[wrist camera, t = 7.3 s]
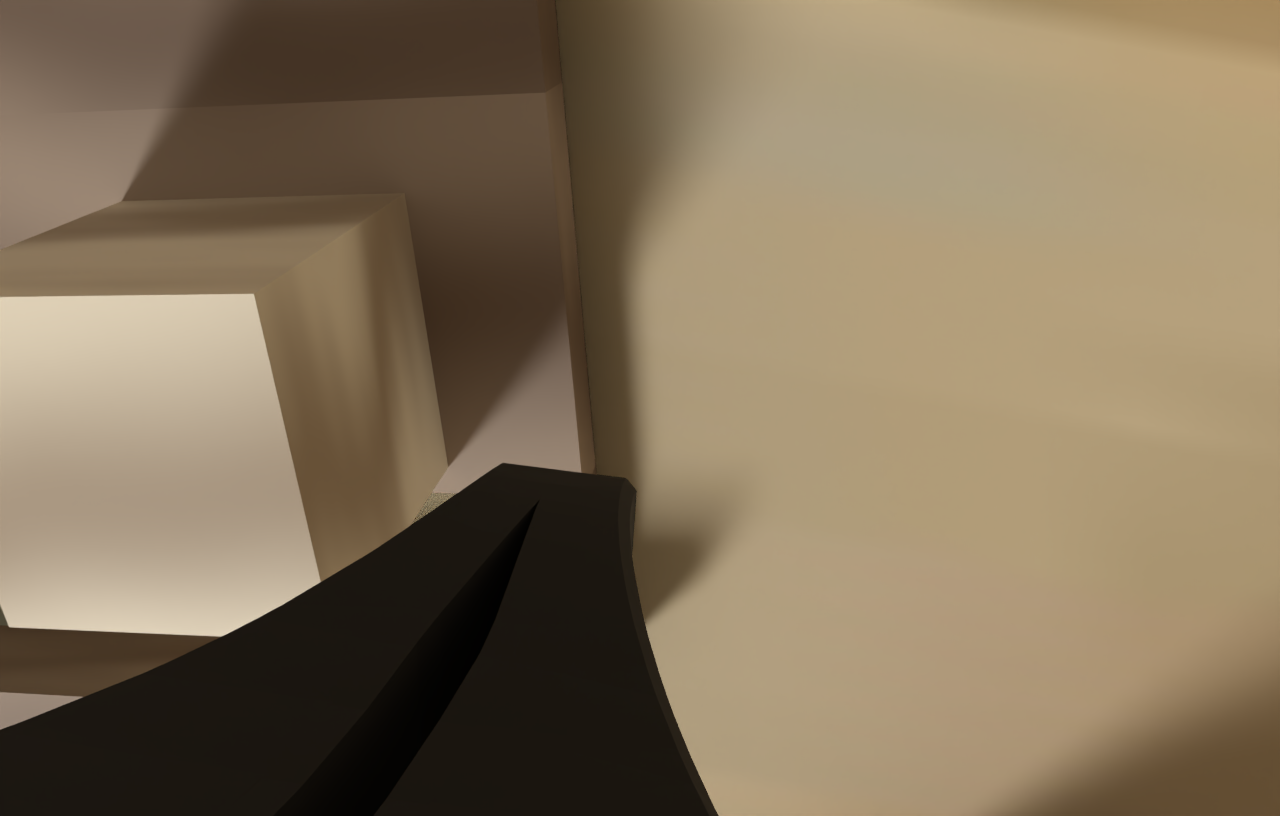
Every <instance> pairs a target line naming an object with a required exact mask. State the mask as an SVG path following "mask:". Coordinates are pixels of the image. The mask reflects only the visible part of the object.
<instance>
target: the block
mask: <svg viewBox="0 0 1280 816" xmlns="http://www.w3.org/2000/svg"><path fill="white" fill-rule="evenodd" d="M447 468H448V463H447V456H446V450H445V444H444V437H443V431H442V425H441V419H440V412H439V406H438V400H437V394H436V387H435V381H434V375H433V368H432V362H431V356H430V350H429V343H428V337H427V331H426V324H425V318H424V312H423V306H422V299H421V293H420V287H419V280H418V274H417V268H416V262H415V255H414V249H413V243H412V236H411V230H410V224H409V218H408V211H407V205H406V199H405V193H391V194H356V195H321V196H285V197H250V198H215V199H180V200H145V201H121V202H118V203H116V204H113V205H111V206H108V207H106V208H103V209H101V210H98V211H96V212H93V213H91V214H88V215H86V216H83V217H81V218H78V219H76V220H73V221H71V222H68V223H66V224H63V225H61V226H58V227H56V228H53V229H51V230H48V231H46V232H43V233H41V234H38V235H36V236H33V237H31V238H28V239H26V240H23V241H21V242H18V243H16V244H13V245H11V246H8V247H6V248H3V249H1V250H0V606H1V608H2V611H3V613H4V616H5V618H6V621H7V623H8V626H9V627H15V628H37V629H60V630H83V631H106V632H129V633H152V634H174V635H197V636H220V637H222V636H224V635H226V634H228V633H230V632H232V631H234V630H236V629H238V628H240V627H242V626H244V625H245V624H247V623H249V622H251V621H253V620H255V619H257V618H259V617H261V616H263V615H265V614H266V613H268V612H270V611H272V610H274V609H276V608H277V607H279V606H281V605H283V604H285V603H286V602H288V601H290V600H291V599H293V598H295V597H296V596H298V595H300V594H301V593H303V592H305V591H306V590H308V589H310V588H311V587H313V586H315V585H317V584H318V583H320V582H322V581H323V580H325V579H327V578H328V577H330V576H332V575H333V574H335V573H337V572H338V571H340V570H342V569H343V568H345V567H347V566H348V565H350V564H352V563H353V562H355V561H357V560H358V559H360V558H362V557H363V556H365V555H367V554H368V553H370V552H372V551H373V550H375V549H376V548H378V547H379V546H381V545H382V544H384V543H385V542H387V541H388V540H390V539H391V538H393V537H394V536H396V535H397V534H399V533H400V532H402V531H403V530H405V529H406V528H408V527H409V526H410V525H411V524H412V522H413V521H414V519H415V518H416V516H417V514H418V513H419V511H420V510H421V508H422V507H423V505H424V504H425V502H426V501H427V499H428V498H429V496H430V495H431V493H432V491H433V490H434V488H435V487H436V485H437V484H438V482H439V481H440V479H441V478H442V476H443V475H444V473H445V472H446V470H447Z"/></svg>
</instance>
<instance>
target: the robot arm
mask: <svg viewBox="0 0 1280 816" xmlns="http://www.w3.org/2000/svg"><path fill="white" fill-rule="evenodd" d="M636 493H637V491H636V489H635V488H634V487H633V486H632V485H631V484H630V482H629V481H628V480H627V479H626V478H619V477H611V476H604V475H596V474H588V473H580V472H572V471H564V470H556V469H549V468H541V467H533V466H525V465H517V464H509V463H501V464H500V465H498V466H497V467H495V468H493V469H492V470H490V471H489V472H487V473H486V474H484V475H483V476H481V477H480V478H479V479H477V480H476V481H474V482H473V483H471V484H470V485H468V486H467V487H466V488H464V489H463V490H461V491H460V492H459V493H457V494H456V495H454V496H453V497H451V498H450V499H449V500H447V501H446V502H444V503H443V504H441V505H440V506H439V507H437V508H436V509H434V510H433V511H431V512H430V513H428V514H427V515H425V516H424V517H422V518H421V519H419V520H418V521H416V522H415V523H413V524H412V525H411V526H409V527H408V528H406V529H405V530H403V531H402V532H400V533H399V534H397V535H396V536H394V537H393V538H391V539H390V540H388V541H387V542H385V543H384V544H382V545H381V546H379V547H378V548H376V549H375V550H373V551H372V552H370V553H368V554H367V555H365V556H363V557H362V558H360V559H358V560H357V561H355V562H353V563H352V564H350V565H348V566H347V567H345V568H343V569H342V570H340V571H338V572H337V573H335V574H333V575H332V576H330V577H328V578H327V579H325V580H323V581H322V582H320V583H318V584H317V585H315V586H313V587H311V588H310V589H308V590H306V591H305V592H303V593H301V594H300V595H298V596H296V597H295V598H293V599H291V600H290V601H288V602H286V603H285V604H283V605H281V606H279V607H277V608H276V609H274V610H272V611H270V612H268V613H266V614H265V615H263V616H261V617H259V618H257V619H255V620H253V621H251V622H249V623H247V624H245V625H244V626H242V627H240V628H238V629H236V630H234V631H232V632H230V633H228V634H226V635H224V636H222V637H220V638H218V639H215V640H213V641H211V642H209V643H207V644H205V645H203V646H201V647H199V648H197V649H195V650H192V651H190V652H188V653H186V654H184V655H182V656H180V657H178V658H176V659H174V660H171V661H169V662H167V663H165V664H163V665H160V666H158V667H156V668H154V669H151V670H149V671H147V672H145V673H142V674H140V675H137V676H135V677H132V678H130V679H127V680H125V681H122V682H120V683H117V684H115V685H112V686H110V687H107V688H105V689H102V690H100V691H97V692H95V693H92V694H90V695H87V696H85V697H82V698H80V699H77V700H75V701H72V702H70V703H67V704H65V705H62V706H60V707H57V708H55V709H52V710H50V711H47V712H45V713H42V714H40V715H37V716H35V717H32V718H30V719H27V720H25V721H22V722H20V723H17V724H14V725H11V726H9V727H6V728H3V729H0V816H718V814H717V812H716V810H715V808H714V806H713V804H712V802H711V800H710V798H709V795H708V793H707V791H706V789H705V787H704V785H703V782H702V780H701V778H700V776H699V774H698V771H697V769H696V767H695V765H694V763H693V760H692V758H691V756H690V754H689V751H688V749H687V746H686V744H685V741H684V739H683V737H682V734H681V732H680V729H679V727H678V724H677V722H676V719H675V717H674V714H673V712H672V709H671V706H670V703H669V701H668V698H667V695H666V692H665V689H664V686H663V683H662V680H661V677H660V674H659V671H658V668H657V664H656V661H655V658H654V654H653V651H652V648H651V644H650V641H649V638H648V634H647V630H646V626H645V622H644V618H643V614H642V609H641V604H640V599H639V594H638V589H637V584H636V579H635V574H634V568H633V561H632V549H633V535H634V521H635V507H636Z"/></svg>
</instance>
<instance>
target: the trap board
mask: <svg viewBox="0 0 1280 816" xmlns="http://www.w3.org/2000/svg"><path fill="white" fill-rule="evenodd" d="M391 193H405V199H406V205H407V211H408V218H409V224H410V230H411V236H412V243H413V249H414V255H415V262H416V268H417V274H418V280H419V287H420V293H421V299H422V306H423V312H424V318H425V324H426V331H427V337H428V343H429V350H430V356H431V362H432V368H433V375H434V381H435V387H436V394H437V400H438V406H439V412H440V419H441V425H442V431H443V437H444V444H445V450H446V456H447V463H448V468H447V470H446V472H445V473H444V475H443V476H442V478H441V479H440V481H439V482H438V484H437V485H436V487H435V488H434V490H433V491H432V493H459V492H460V491H461V490H463V489H464V488H466V487H467V486H468V485H470V484H471V483H473V482H474V481H476V480H477V479H479V478H480V477H481V476H483V475H484V474H486V473H487V472H489V471H490V470H492V469H493V468H495V467H497V466H498V465H500V464H501V463H509V464H517V465H525V466H533V467H541V468H549V469H556V470H564V471H572V472H580V473H588V474H596V463H595V451H594V440H593V428H592V417H591V405H590V394H589V383H588V371H587V360H586V348H585V337H584V325H583V314H582V302H581V291H580V279H579V268H578V257H577V245H576V234H575V222H574V211H573V199H572V188H571V176H570V165H569V154H568V142H567V131H566V119H565V108H564V96H563V85H562V73H561V62H560V51H559V39H558V28H557V16H556V5H555V0H0V250H1V249H3V248H6V247H8V246H11V245H13V244H16V243H18V242H21V241H23V240H26V239H28V238H31V237H33V236H36V235H38V234H41V233H43V232H46V231H48V230H51V229H53V228H56V227H58V226H61V225H63V224H66V223H68V222H71V221H73V220H76V219H78V218H81V217H83V216H86V215H88V214H91V213H93V212H96V211H98V210H101V209H103V208H106V207H108V206H111V205H113V204H116V203H118V202H121V201H145V200H180V199H215V198H250V197H285V196H321V195H356V194H391ZM596 475H597V474H596ZM218 638H220V636H197V635H174V634H152V633H129V632H106V631H83V630H60V629H37V628H15V627H9V626H8V623H7V621H6V618H5V616H4V613H3V611H2V608H1V606H0V729H3V728H6V727H9V726H11V725H14V724H17V723H20V722H22V721H25V720H27V719H30V718H32V717H35V716H37V715H40V714H42V713H45V712H47V711H50V710H52V709H55V708H57V707H60V706H62V705H65V704H67V703H70V702H72V701H75V700H77V699H80V698H82V697H85V696H87V695H90V694H92V693H95V692H97V691H100V690H102V689H105V688H107V687H110V686H112V685H115V684H117V683H120V682H122V681H125V680H127V679H130V678H132V677H135V676H137V675H140V674H142V673H145V672H147V671H149V670H151V669H154V668H156V667H158V666H160V665H163V664H165V663H167V662H169V661H171V660H174V659H176V658H178V657H180V656H182V655H184V654H186V653H188V652H190V651H192V650H195V649H197V648H199V647H201V646H203V645H205V644H207V643H209V642H211V641H213V640H215V639H218Z"/></svg>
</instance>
